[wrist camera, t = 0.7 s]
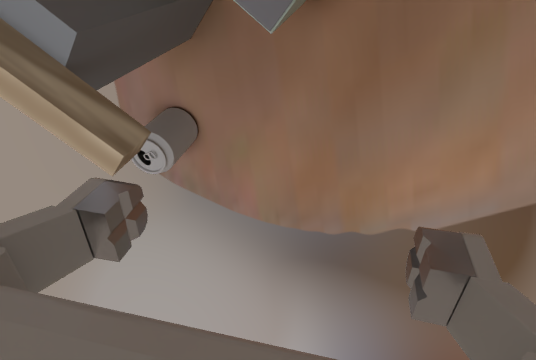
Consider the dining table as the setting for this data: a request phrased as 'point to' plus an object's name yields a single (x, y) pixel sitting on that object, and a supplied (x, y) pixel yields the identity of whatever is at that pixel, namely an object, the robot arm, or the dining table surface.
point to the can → (166, 141)
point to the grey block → (270, 11)
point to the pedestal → (104, 31)
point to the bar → (66, 104)
